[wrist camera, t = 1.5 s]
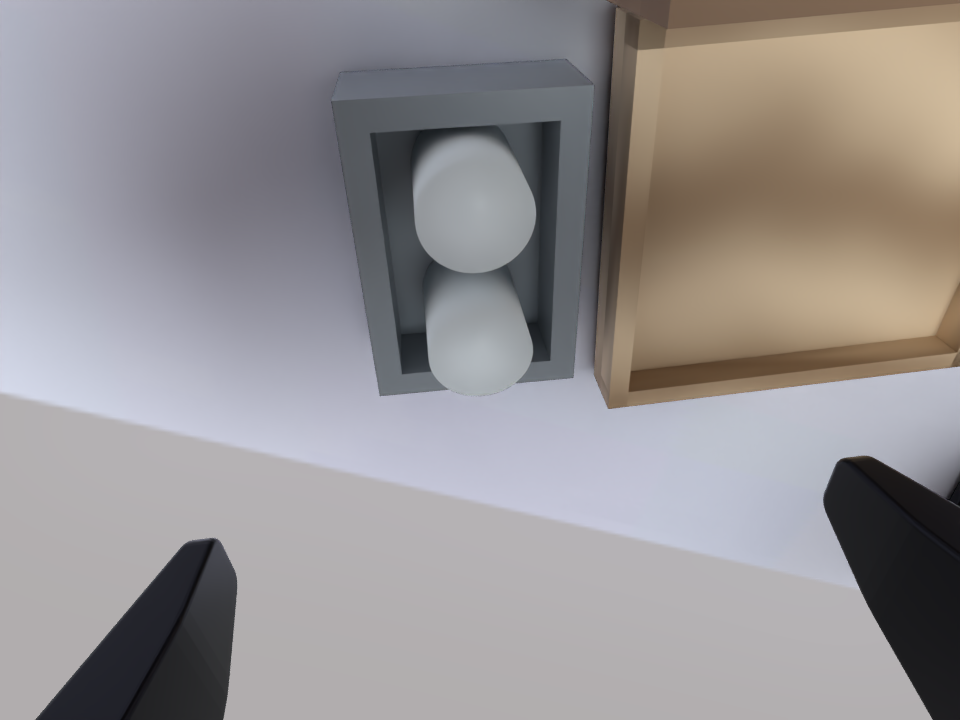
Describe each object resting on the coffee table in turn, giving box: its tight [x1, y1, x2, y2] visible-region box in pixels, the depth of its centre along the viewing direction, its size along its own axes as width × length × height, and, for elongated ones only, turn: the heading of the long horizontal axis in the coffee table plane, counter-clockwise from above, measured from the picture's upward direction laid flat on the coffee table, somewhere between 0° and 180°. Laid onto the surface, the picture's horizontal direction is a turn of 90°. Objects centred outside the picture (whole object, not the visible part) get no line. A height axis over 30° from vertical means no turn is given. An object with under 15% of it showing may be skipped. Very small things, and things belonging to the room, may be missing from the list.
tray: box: [331, 59, 594, 396], centre depth 16 cm, size 8×6×4 cm
